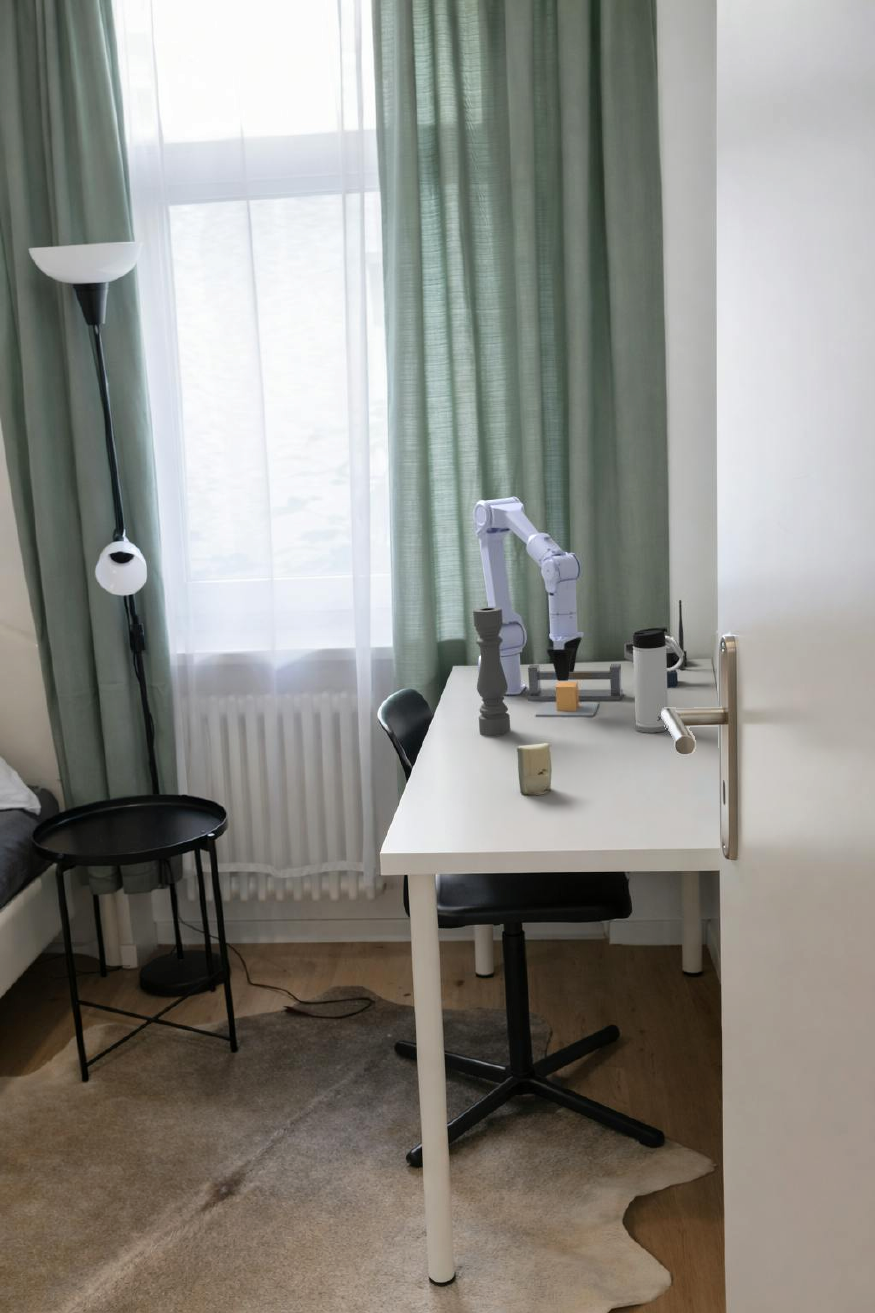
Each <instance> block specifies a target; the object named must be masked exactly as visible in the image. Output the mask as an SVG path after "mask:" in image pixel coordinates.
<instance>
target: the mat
mask: <svg viewBox="0 0 875 1313" xmlns="http://www.w3.org/2000/svg"><path fill="white" fill-rule="evenodd" d="M599 705H600V701H597V702H596V701H589V702H588V701H587V702H586V701H583V702H582V701H579V706H578V707H576V711H557V705H556V701H552V702H551V701H543V702H542V704H541V706H540V707H539V708H538V711H536V713H535V717H594V715H595V713H596V712H597V709H598V707H599Z"/></svg>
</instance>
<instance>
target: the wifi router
mask: <svg viewBox="0 0 875 1313" xmlns="http://www.w3.org/2000/svg"><path fill="white" fill-rule="evenodd" d="M682 607H683V606H682V599H679V600H678V610H679V611H678V613H679V615H678V617H679V619H678V645H679V646H680V648H681V649H682V651H683V652H684V655H683V661H682V663H681V665H680V666H679V667H678V669H679V671H681V670H682V671H684V670H685V667H687V666H688V665H687V664H688V662H687V660H688V658H687V656H688V655H687V653H688V652H687V650H685V646H684V643H685V642H684V637H685V636H684V625H683V616H682V615H683V614H682V613H683V611H682V610H683V609H682ZM665 642H666V662H667V668H671V667H673V666H675V665H676V664H677V663H678V661H679V659H680V657H678V656H677V654H676V653H675V651H674V650H673V648H672V646H671V645H670V643H669V641H668V640H665ZM623 650H624V652H623V653H624V658H623V659H626V660H628V661H629V662H631V663H633V664H634V661H633V642H624V644H623Z"/></svg>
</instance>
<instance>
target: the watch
mask: <svg viewBox="0 0 875 1313" xmlns="http://www.w3.org/2000/svg"><path fill="white" fill-rule="evenodd" d="M665 639H666V640H667V642H669V643H670V645H671V646H672V648H673V650H674V651H675V653H676V654H677V656H678V657H680V659H679V661H678V663H677V664H676V665H675V666H673V667H671V668H667V688H671V687H672V688H675V686H679V682H678V671H677V669H679V666H680V665H681V663H682V661H683V655H684V652H683V651H682V649H681V648H680V646H679V642H677V640H676V639H675V638H674V636H669V635H665Z"/></svg>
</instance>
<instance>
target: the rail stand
mask: <svg viewBox="0 0 875 1313" xmlns="http://www.w3.org/2000/svg"><path fill="white" fill-rule="evenodd" d="M621 668H622V665H621V663H611V664H610V666H609V670H574V672H569V678H568V681H573V680H574V681H577V680H579V681H581V680H583V681H585V680H590V681H591V680H593V681H595V680H609V682H610V689H578V697H579V702H582V701H583V702H586V701H587V702H588V701H589V702H596V701H597V702H601V701H602V702H604V701H606V702H607V701H608V702H609V701H612V702H616V701H617V702H619V701H621V699H622V696H623V689H622V669H621ZM527 669H528V670H527V672H528V690H529V693H528V694H529V695H528V697H527V698H528V701H529V702H530V701H531V702H533V701H534V702H536V701H537V702H551V701H552V702H556V689H541V681H558V679H557V676H556V673H555V670H549V671H548V670H547V671H545V670H543V671H542V670H541V668H540V664H530V665H529V666H528V667H527Z"/></svg>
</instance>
